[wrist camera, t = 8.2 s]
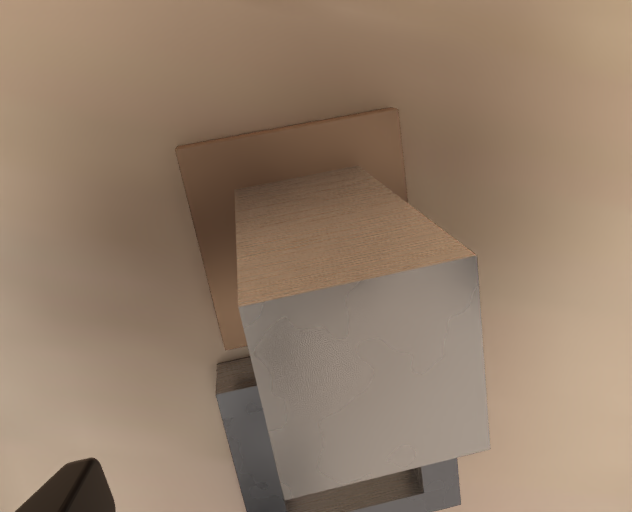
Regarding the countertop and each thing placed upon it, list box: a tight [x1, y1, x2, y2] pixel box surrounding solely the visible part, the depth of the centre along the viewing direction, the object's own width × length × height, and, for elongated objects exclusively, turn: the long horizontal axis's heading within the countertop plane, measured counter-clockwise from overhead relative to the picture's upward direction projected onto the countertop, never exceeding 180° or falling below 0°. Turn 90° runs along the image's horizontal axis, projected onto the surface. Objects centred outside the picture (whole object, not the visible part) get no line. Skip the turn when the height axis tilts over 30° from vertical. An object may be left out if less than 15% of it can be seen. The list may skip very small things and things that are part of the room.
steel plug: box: [235, 166, 490, 500], centre depth 14 cm, size 4×4×9 cm
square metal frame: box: [216, 357, 461, 512], centre depth 20 cm, size 7×8×2 cm
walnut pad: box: [175, 108, 408, 350], centre depth 18 cm, size 7×7×1 cm
